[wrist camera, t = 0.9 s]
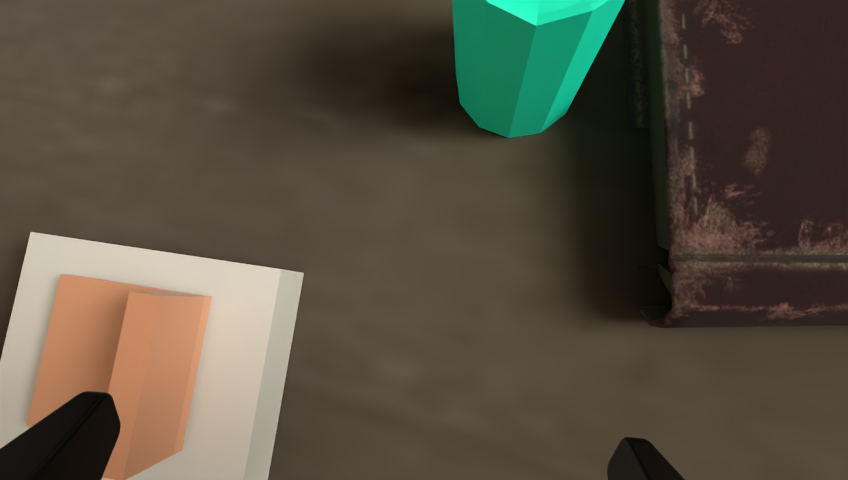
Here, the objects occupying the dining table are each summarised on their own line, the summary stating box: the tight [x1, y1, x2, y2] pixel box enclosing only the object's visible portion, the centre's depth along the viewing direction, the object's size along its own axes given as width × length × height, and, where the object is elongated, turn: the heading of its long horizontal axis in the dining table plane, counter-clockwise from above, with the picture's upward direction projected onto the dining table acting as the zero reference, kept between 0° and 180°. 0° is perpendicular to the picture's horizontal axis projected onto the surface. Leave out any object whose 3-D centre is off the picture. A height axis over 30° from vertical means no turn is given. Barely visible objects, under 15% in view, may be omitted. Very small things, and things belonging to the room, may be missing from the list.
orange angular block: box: [26, 274, 212, 480], centre depth 20 cm, size 6×7×4 cm
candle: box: [452, 0, 625, 138], centre depth 19 cm, size 6×6×12 cm
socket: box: [0, 232, 304, 480], centre depth 23 cm, size 10×12×3 cm
